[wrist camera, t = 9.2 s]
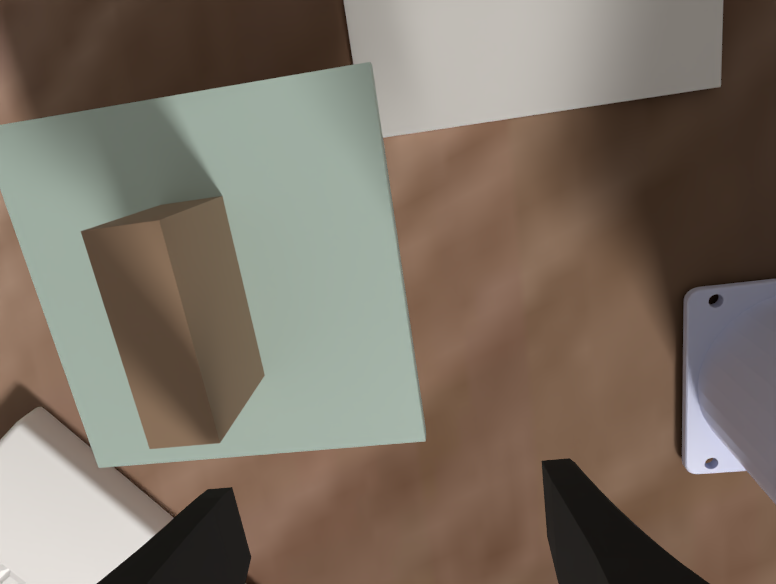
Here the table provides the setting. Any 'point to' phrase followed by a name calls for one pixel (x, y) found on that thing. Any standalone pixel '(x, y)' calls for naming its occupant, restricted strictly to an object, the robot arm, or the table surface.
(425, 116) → the mat
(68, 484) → the laptop
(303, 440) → the lid
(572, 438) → the table surface
